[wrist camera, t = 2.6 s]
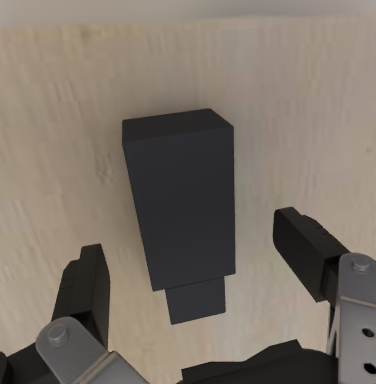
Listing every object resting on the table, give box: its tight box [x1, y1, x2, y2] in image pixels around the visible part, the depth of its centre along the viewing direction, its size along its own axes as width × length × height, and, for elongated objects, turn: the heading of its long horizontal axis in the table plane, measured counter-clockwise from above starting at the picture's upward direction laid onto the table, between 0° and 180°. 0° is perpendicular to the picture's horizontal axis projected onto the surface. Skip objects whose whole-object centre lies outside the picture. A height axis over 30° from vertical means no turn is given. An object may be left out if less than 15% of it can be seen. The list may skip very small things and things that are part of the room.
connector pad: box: [122, 109, 236, 325], centre depth 17 cm, size 5×12×4 cm, turn 5°
